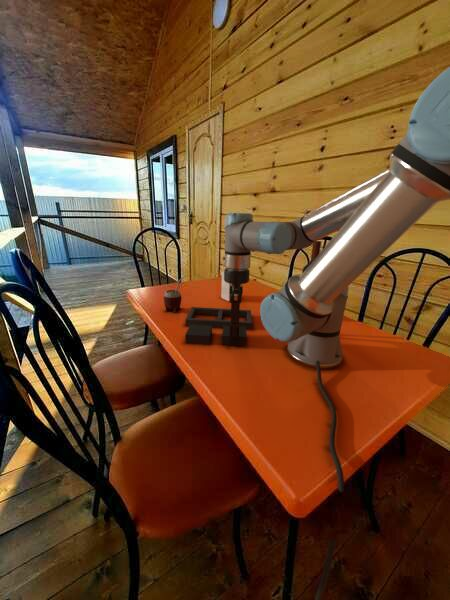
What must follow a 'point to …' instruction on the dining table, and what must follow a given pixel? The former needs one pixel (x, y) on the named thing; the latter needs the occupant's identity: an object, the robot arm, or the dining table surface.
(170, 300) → the mate gourd
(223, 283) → the small box
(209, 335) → the pad
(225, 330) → the pad
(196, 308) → the frame
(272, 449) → the dining table surface
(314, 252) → the wine bottle
